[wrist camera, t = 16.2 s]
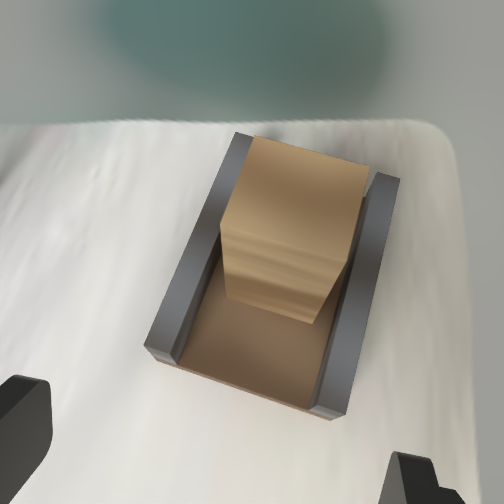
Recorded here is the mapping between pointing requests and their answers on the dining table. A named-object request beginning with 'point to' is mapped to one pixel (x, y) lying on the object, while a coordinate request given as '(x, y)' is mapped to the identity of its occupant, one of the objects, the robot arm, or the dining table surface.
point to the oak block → (289, 227)
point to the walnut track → (267, 322)
